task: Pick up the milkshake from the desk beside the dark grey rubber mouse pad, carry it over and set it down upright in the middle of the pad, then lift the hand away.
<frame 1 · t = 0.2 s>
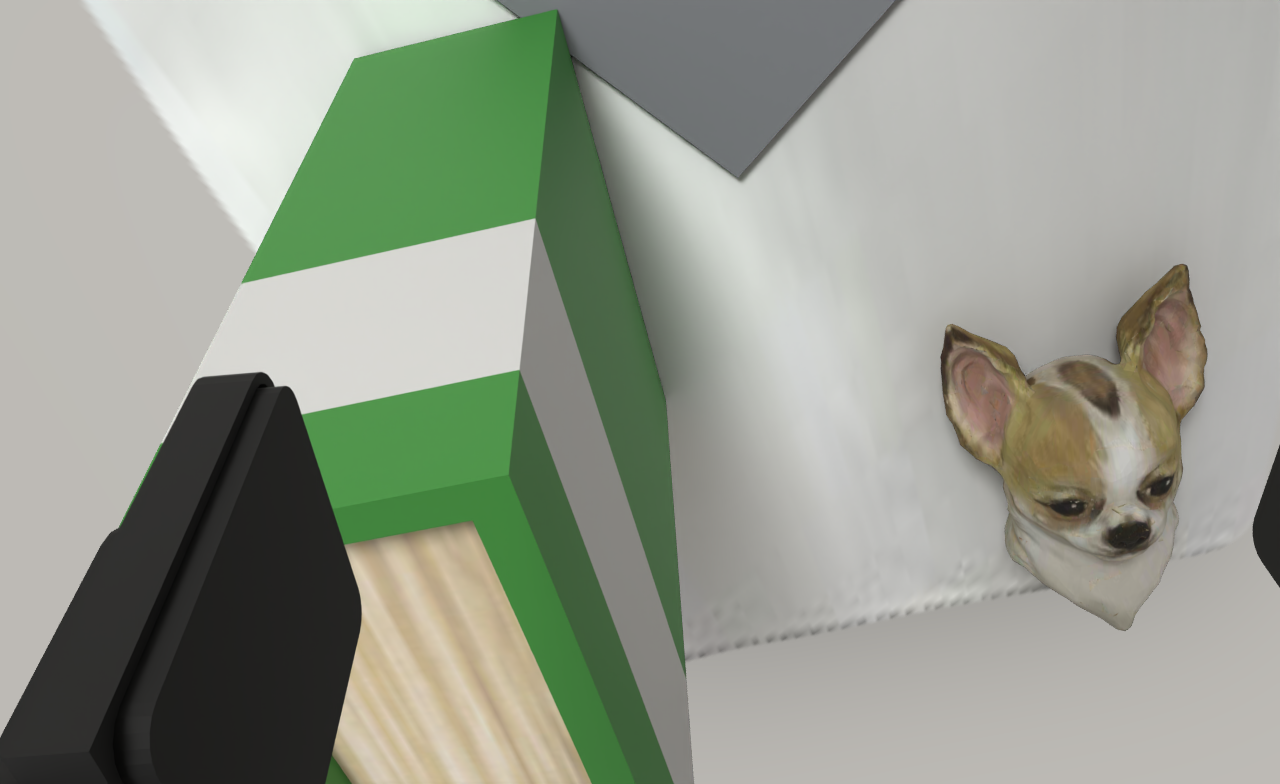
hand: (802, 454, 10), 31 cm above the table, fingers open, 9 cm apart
hardback book: (527, 246, 43), on the table, touching mouse pad
ceramic sculpture: (1055, 401, 49), on the table
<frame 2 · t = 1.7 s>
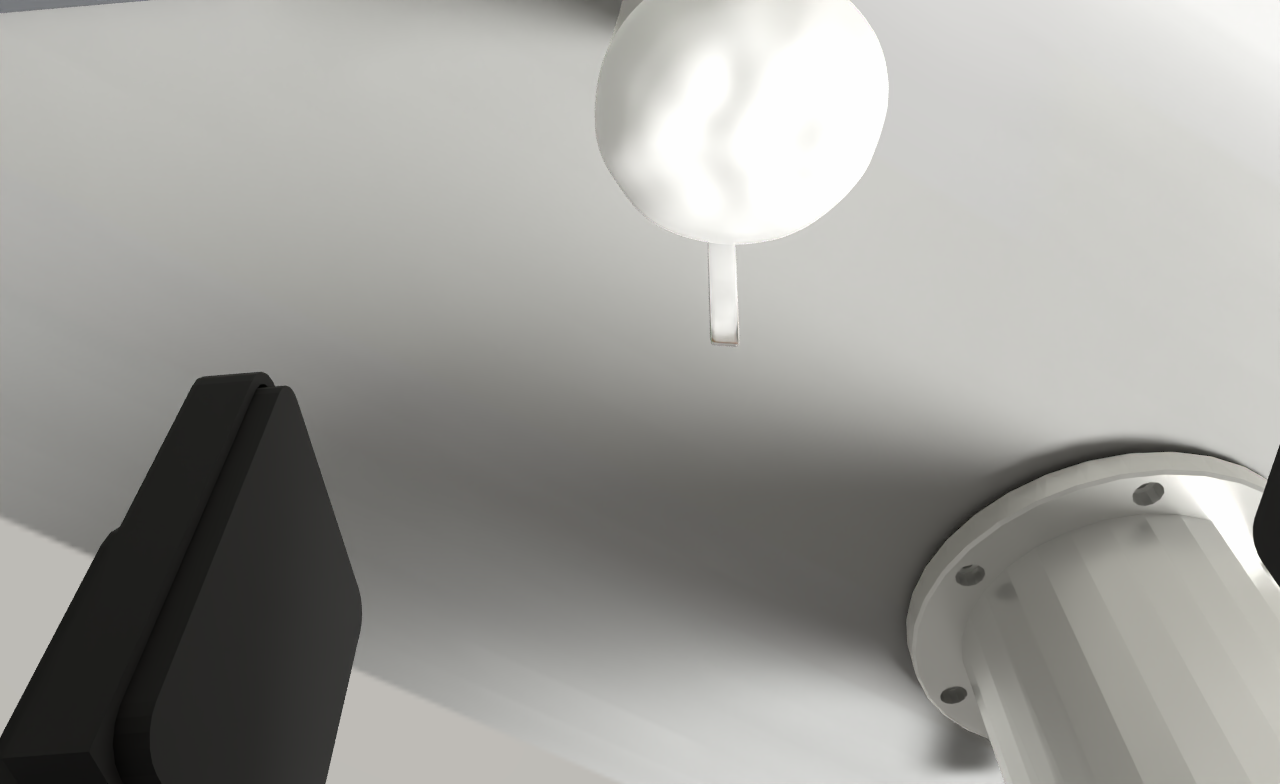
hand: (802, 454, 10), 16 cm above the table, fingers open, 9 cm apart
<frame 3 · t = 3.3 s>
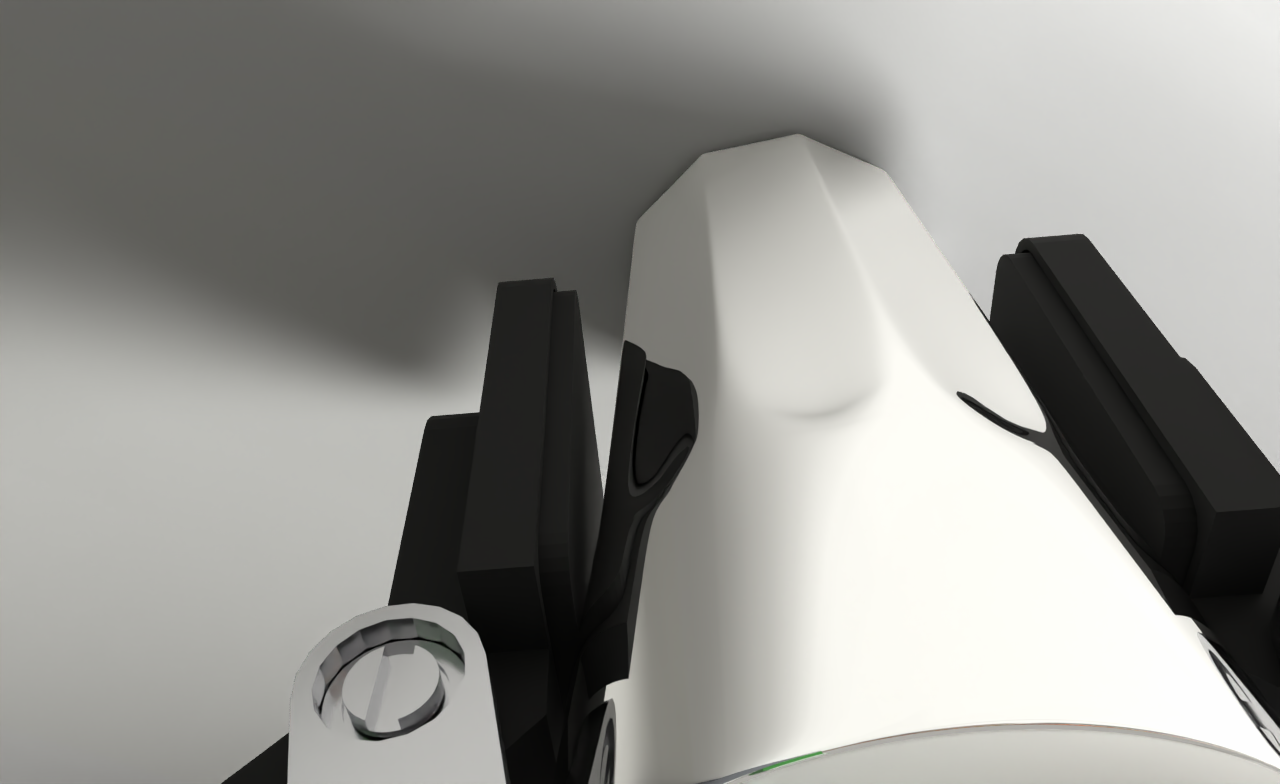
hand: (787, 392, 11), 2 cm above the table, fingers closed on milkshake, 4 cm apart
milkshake: (762, 290, 13), on the table, touching gripper
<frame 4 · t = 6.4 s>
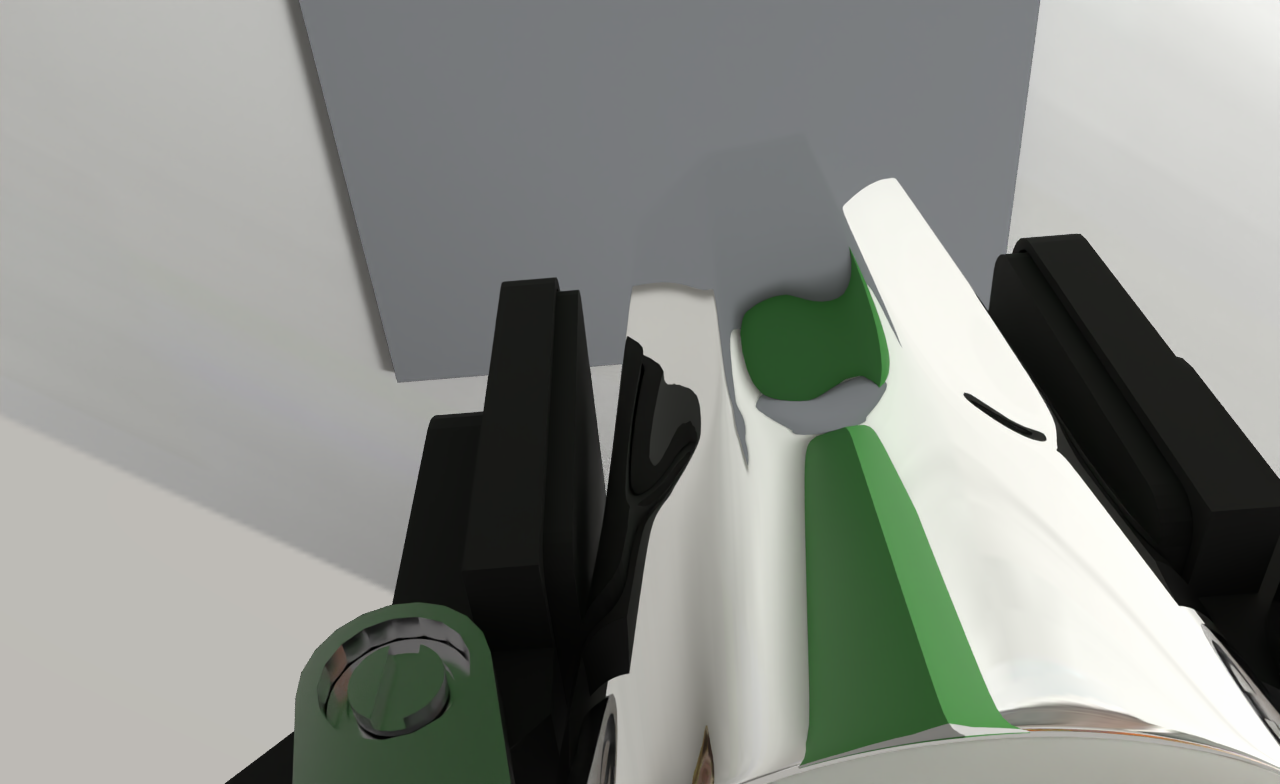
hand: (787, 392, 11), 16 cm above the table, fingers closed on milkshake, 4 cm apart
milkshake: (765, 290, 13), point 14 cm above the table, touching gripper
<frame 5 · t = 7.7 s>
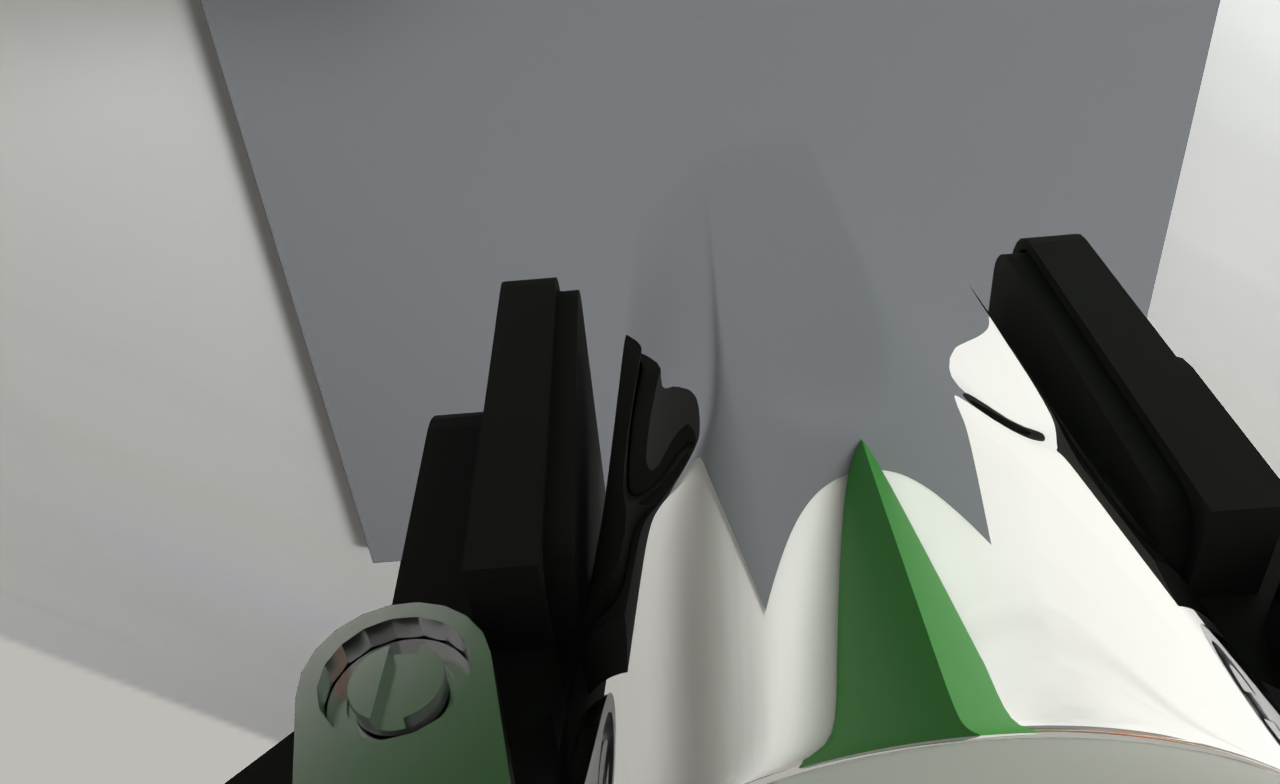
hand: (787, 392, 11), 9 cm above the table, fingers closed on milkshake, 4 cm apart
mouse pad: (718, 84, 18), on the table
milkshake: (765, 290, 13), point 7 cm above the table, touching gripper
when the fingers open (3 cm above the table, at t = 9.0 s): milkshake drops 1 cm, resting on mouse pad.
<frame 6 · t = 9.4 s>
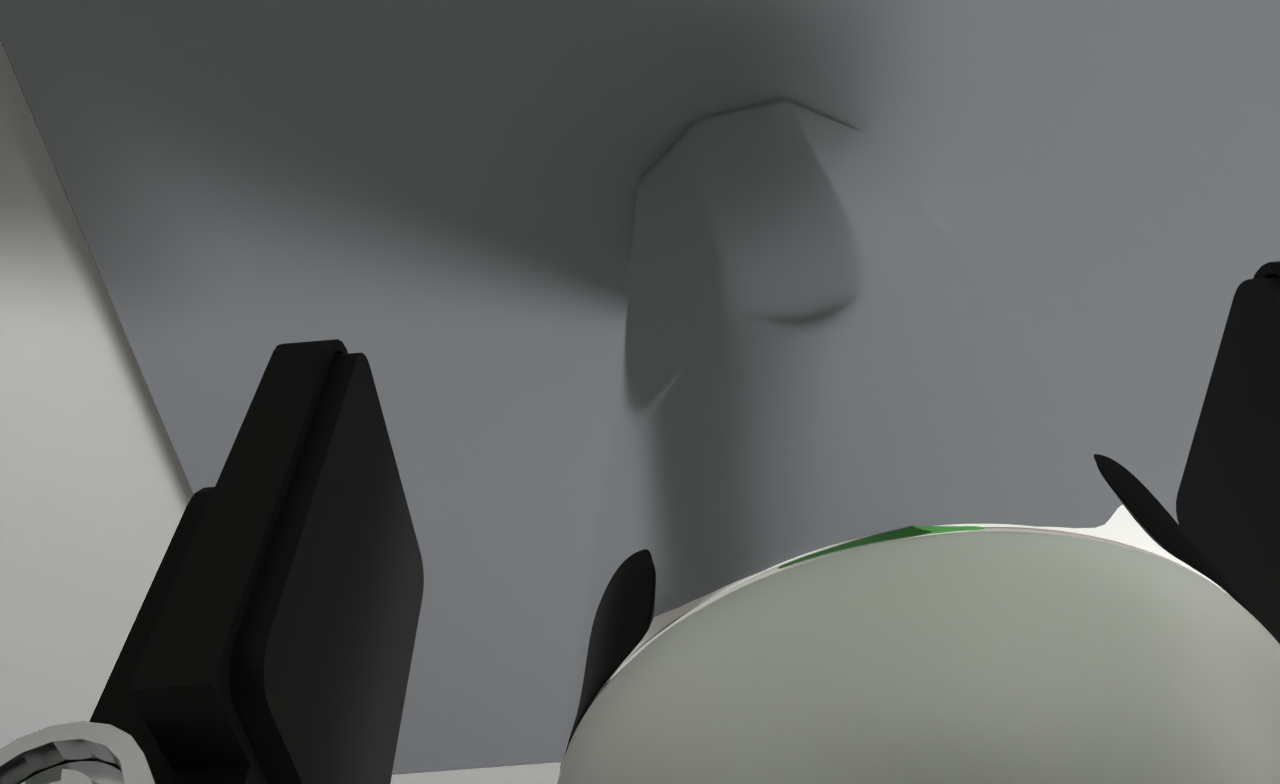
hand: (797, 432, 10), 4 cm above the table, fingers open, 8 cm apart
mouse pad: (749, 234, 14), on the table
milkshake: (754, 249, 14), resting on mouse pad
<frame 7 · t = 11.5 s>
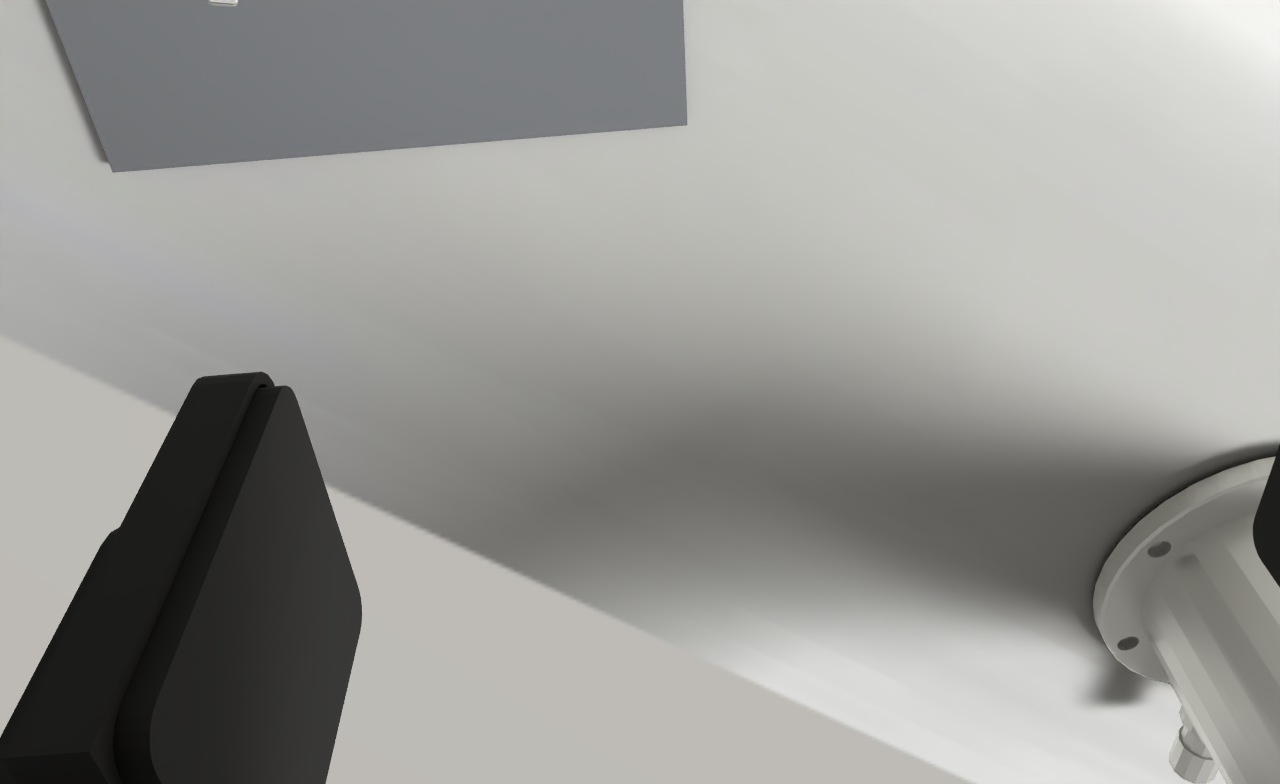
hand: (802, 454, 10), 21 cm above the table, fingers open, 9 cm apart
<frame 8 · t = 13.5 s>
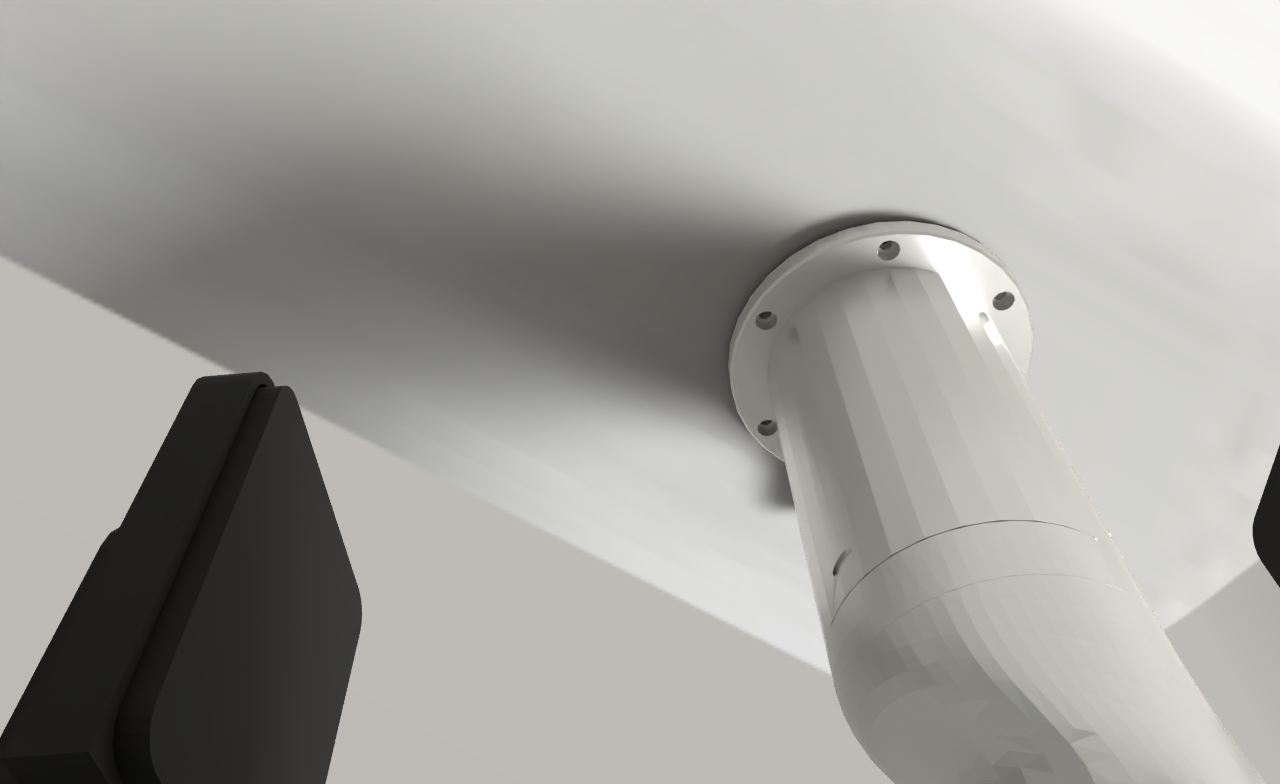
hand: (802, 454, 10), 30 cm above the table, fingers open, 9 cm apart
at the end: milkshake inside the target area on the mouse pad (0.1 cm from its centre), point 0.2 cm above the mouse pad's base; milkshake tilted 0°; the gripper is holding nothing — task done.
